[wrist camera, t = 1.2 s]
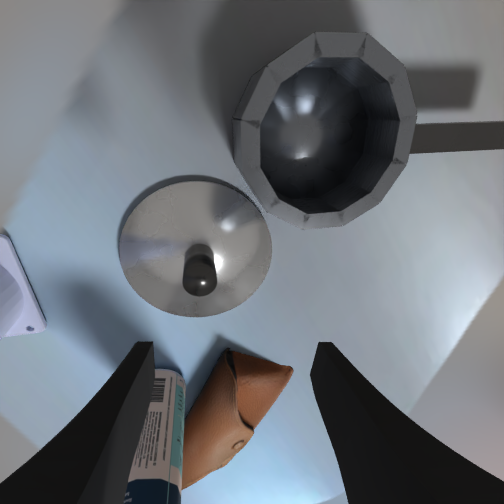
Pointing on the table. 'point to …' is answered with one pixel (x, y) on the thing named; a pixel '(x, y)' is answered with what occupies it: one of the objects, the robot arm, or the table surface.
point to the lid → (195, 249)
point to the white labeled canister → (160, 445)
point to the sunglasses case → (228, 411)
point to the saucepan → (336, 130)
